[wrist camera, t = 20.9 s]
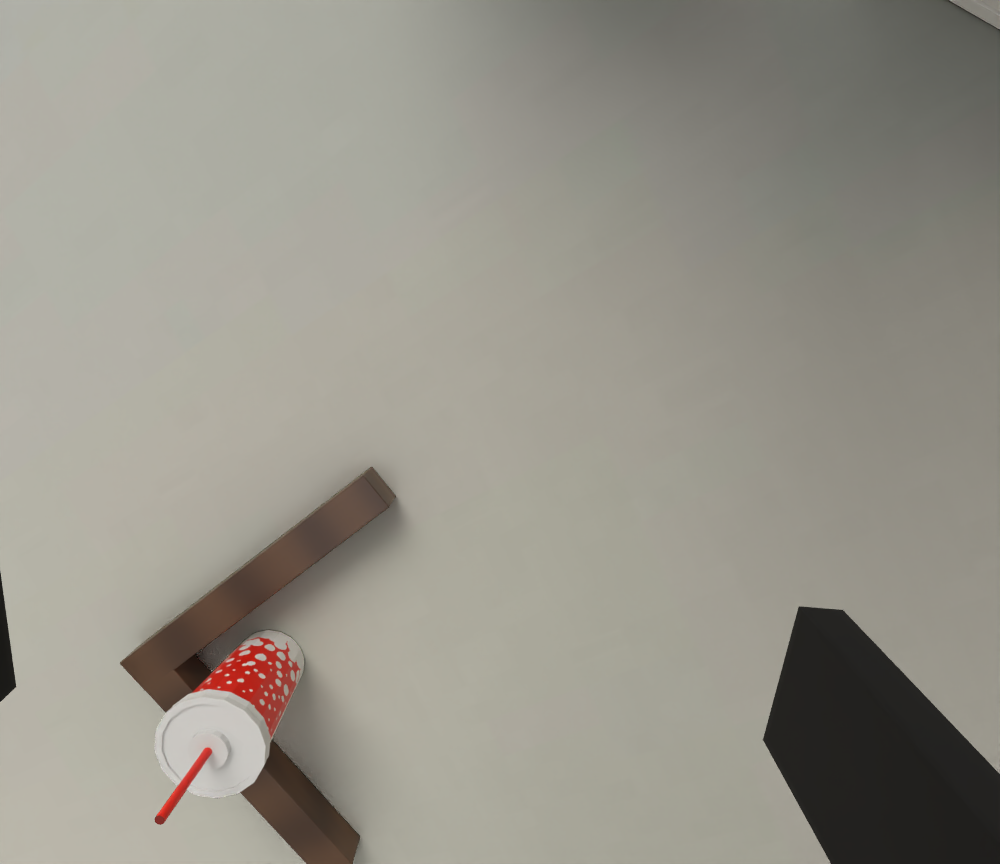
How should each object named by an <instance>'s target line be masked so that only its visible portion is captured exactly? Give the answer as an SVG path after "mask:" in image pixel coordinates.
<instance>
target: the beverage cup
mask: <svg viewBox="0 0 1000 864" xmlns="http://www.w3.org/2000/svg"><path fill="white" fill-rule="evenodd" d="M303 671H304V657H303V654H302V651H301V648H300V647H299V646H298V644H297V643H296V642H295V641H294V640H293V639H292V638H291V637H289V636H287V635H285V634H284V633H282V632H279V631H272V630H264V631H260V632H256V633H254V634H252V635H251V636H250V637H248V638H247V639H245V640H244V641H243V642H242V643H241V644H240V645H239V646H238V647H237V648H236V649H235V650H234V651H233V652H232V653H231V654H230V655H229V656H228V657H227V658H226V659H225V660H224V661H223V662H222V663H221V664H220V665H219V666H218V667H217V668H216V669H215V670H214V671H213V672H212V673H211V674H210V675H209V676H208V677H207V678H206V679H205V680H204V681H203V682H202V683H201V684H200V685H199V686H198V687H197V688H196V689H195V690H194V691H193V692H192V693H190V694H188V695H186V696H185V697H184V698H182V699H181V700H180V701H178V702H177V703H176V704H174V705H173V706H172V708H171V709H169V710H168V711H167V712H166V713H165V714H164V716H163V718H162V720H161V722H160V724H159V725H158V727H157V729H156V731H155V750H154V751H155V754H156V756H157V759H158V761H159V764H160V766H161V769H162V770H163V772H164V773H165V774H166V775H167V776H168V777H169V778H170V779H171V780H172V781H173V782H174V783H175V784H176V785H177V788H176V789H175V791H174V792H173V793H172V795H171V796H170V798H169V799H168V800H167V802H166V803H165V805H164V806H163V807H162V809H161V810H160V812H159V813H158V814H157V816H156V817H155V822H156V823H157V824H160V825H161V824H163V823H164V822H165V821H166V819H167V818H168V816H169V815H170V813H171V812H172V810H173V809H174V807H175V806H176V805H177V803H178V802H179V800H180V799H181V797H182V796H183V794H184V793H185V792H186V791H188V792H190V793H192V794H194V795H196V796H204V797H211V798H221V797H226V796H230V795H235V794H238V793H240V792H241V791H243V790H244V789H246V788H247V787H248V786H250V785H251V784H253V783H254V782H255V780H256V779H257V777H258V775H259V773H260V772H261V770H262V768H263V767H264V765H265V763H266V760H267V758H268V757H269V750H270V742H271V740H272V738H273V736H274V734H275V732H276V729H277V727H278V725H279V723H280V721H281V719H282V717H283V714H284V712H285V710H286V708H287V706H288V704H289V702H290V699H291V697H292V695H293V693H294V691H295V689H296V687H297V684H298V682H299V680H300V678H301V676H302V674H303Z"/></svg>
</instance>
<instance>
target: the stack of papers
mask: <svg viewBox="0 0 1000 864" xmlns="http://www.w3.org/2000/svg"><path fill="white" fill-rule="evenodd" d="M949 1H951V2H953V3H954V4H956V5H958V6H960V7H961V8H963V9H965V10H967V11H968V12H970V13H972V14H974V15H975V16H977V17H979V18H981V19H982V20H984V21H986V22H987V23H989V24H991V25H993V26H994V27H996V28H998V29H1000V0H949Z"/></svg>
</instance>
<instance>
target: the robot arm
mask: <svg viewBox="0 0 1000 864" xmlns="http://www.w3.org/2000/svg"><path fill="white" fill-rule="evenodd" d="M15 687H16V682H15V675H14V668H13V661H12V653H11V646H10V639H9V632H8V624H7V617H6V610H5V602H4V595H3V588H2V581H1V573H0V702H1V701H2V700H3V699H4V698H5V697H6V696H7V695H8V694H9V693H10V692H11V691H12V690H13V689H14V688H15ZM763 741H764V742H765V744H766V746H767V748H768V750H769V751H770V753H771V755H772V757H773V759H774V761H775V762H776V764H777V766H778V768H779V770H780V771H781V773H782V775H783V777H784V779H785V781H786V782H787V784H788V786H789V788H790V790H791V792H792V793H793V795H794V797H795V799H796V801H797V802H798V804H799V806H800V808H801V810H802V812H803V813H804V815H805V817H806V819H807V821H808V822H809V824H810V826H811V828H812V830H813V832H814V833H815V835H816V837H817V839H818V841H819V842H820V844H821V846H822V848H823V850H824V852H825V853H826V855H827V857H828V859H829V861H830V863H831V864H1000V774H999V773H998V772H997V771H996V770H995V769H994V768H993V767H992V766H991V765H990V763H989V762H988V761H987V760H986V759H985V758H984V757H983V756H982V755H981V754H980V753H979V752H978V751H977V750H976V749H975V748H974V747H973V746H972V745H971V744H970V743H969V741H968V740H967V739H966V738H965V737H964V736H963V735H962V734H961V733H960V732H959V731H958V730H957V729H956V728H955V727H954V726H953V725H952V724H951V723H950V722H949V721H948V720H947V718H946V717H945V716H944V715H943V714H942V713H941V712H940V711H939V710H938V709H937V708H936V707H935V706H934V705H933V704H932V703H931V702H930V701H929V700H928V699H927V698H926V697H925V695H924V694H923V693H922V692H921V691H920V690H919V689H918V688H917V687H916V686H915V685H914V684H913V683H912V682H911V681H910V680H909V679H908V678H907V677H906V676H905V675H904V673H903V672H902V671H901V670H900V669H899V668H898V667H897V666H896V665H895V664H894V663H893V662H892V661H891V660H890V659H889V658H888V657H887V656H886V655H885V654H884V653H883V652H882V650H881V649H880V648H879V647H878V646H877V645H876V644H875V643H874V642H873V641H872V640H871V639H870V638H869V637H868V636H867V635H866V634H865V633H864V632H863V631H862V630H861V629H860V627H859V626H858V625H857V624H856V623H855V622H854V621H853V620H852V619H851V618H850V617H849V616H848V615H847V614H846V613H845V612H844V611H843V610H836V609H823V608H811V607H799V608H798V611H797V615H796V619H795V623H794V626H793V630H792V634H791V638H790V641H789V645H788V649H787V652H786V656H785V660H784V664H783V667H782V671H781V675H780V679H779V682H778V686H777V690H776V693H775V697H774V701H773V705H772V708H771V712H770V716H769V720H768V723H767V727H766V731H765V734H764V738H763Z"/></svg>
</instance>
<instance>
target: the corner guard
mask: <svg viewBox="0 0 1000 864" xmlns="http://www.w3.org/2000/svg"><path fill="white" fill-rule="evenodd" d="M395 497H396V496H395V495H394V493H393V492H392V491H391V490H390V488H389V487H388V486H387V485H386V484H385V482H384V481H383V480H382V479H381V477H380V476H379V475H378V474H377V473H376V471H375V470H374V469H373V468H372V467H370V468H369V469H368V470H366V471H365V472H364V473H363V474H361V475H360V476H359V477H357V478H356V479H355V480H353V481H352V482H351V483H350V484H348V485H347V486H346V487H344V488H343V489H342V490H340V491H339V492H338V493H337V494H335V495H334V496H333V497H331V498H330V499H329V500H327V501H326V502H325V503H324V504H322V505H321V506H320V507H318V508H317V509H316V510H315V511H313V512H312V513H311V514H309V515H308V516H307V517H305V518H304V519H303V520H302V521H300V522H299V523H298V524H296V525H295V526H294V527H292V528H291V529H290V530H289V531H287V532H286V533H285V534H283V535H282V536H281V537H280V538H278V539H277V540H276V541H274V542H273V543H272V544H270V545H269V546H268V547H267V548H265V549H264V550H263V551H261V552H260V553H259V554H257V555H256V556H255V557H254V558H252V559H251V560H250V561H248V562H247V563H246V564H244V565H243V566H242V567H241V568H239V569H238V570H237V571H235V572H234V573H233V574H232V575H230V576H229V577H228V578H226V579H225V580H224V581H222V582H221V583H220V584H219V585H217V586H216V587H215V588H213V589H212V590H211V591H209V592H208V593H207V594H206V595H204V596H203V597H202V598H200V599H199V600H198V601H196V602H195V603H194V604H193V605H191V606H190V607H189V608H187V609H186V610H185V611H184V612H182V613H181V614H180V615H178V616H177V617H176V618H174V619H173V620H172V621H171V622H169V623H168V624H167V625H165V626H164V627H163V628H161V629H160V630H159V631H157V632H156V633H155V634H154V635H152V636H151V637H150V638H148V639H147V640H146V641H144V642H143V643H142V644H141V645H139V646H138V647H137V648H136V649H135V650H134V651H133V652H131V653H130V654H129V655H128V656H127V657H126V658H125V659H123V660H122V661H121V662H120V664H121V665H122V666H123V667H124V668H125V669H126V671H127V672H128V673H129V674H130V675H131V676H132V677H133V678H134V679H135V680H136V681H137V682H138V683H139V684H140V686H141V687H142V688H143V689H144V690H145V691H146V692H147V693H148V694H149V695H150V696H151V697H152V698H153V699H154V700H155V701H156V702H157V703H158V705H159V706H160V707H161V708H162V709H163V710H164V711H165V712H167V711H168V710H169V709H171V708H172V706H173V705H174V704H176V703H177V702H178V701H180V700H181V699H182V698H184V697H185V696H186V695H188V694H190V693H192V692H193V691H194V690H195V689H196V688H197V687H198V686H199V685H200V684H201V683H202V682H203V681H204V680H205V679H206V678H207V677H208V676H209V675H210V674H211V672H210V671H209V670H208V669H207V668H206V667H205V666H204V665H203V664H202V662H201V661H200V660H199V659H198V658H197V657H196V656H195V654H196V653H197V652H198V651H200V650H201V649H202V648H204V647H205V646H206V645H208V644H209V643H210V642H212V641H213V640H214V639H216V638H217V637H218V636H220V635H221V634H222V633H224V632H225V631H226V630H228V629H229V628H230V627H231V626H233V625H234V624H235V623H237V622H238V621H239V620H241V619H242V618H243V617H245V616H246V615H247V614H249V613H250V612H251V611H253V610H254V609H255V608H257V607H258V606H259V605H261V604H262V603H263V602H264V601H266V600H267V599H268V598H270V597H271V596H272V595H274V594H275V593H276V592H278V591H279V590H280V589H282V588H283V587H284V586H286V585H287V584H288V583H290V582H291V581H292V580H294V579H295V578H296V577H297V576H299V575H300V574H301V573H303V572H304V571H305V570H307V569H308V568H309V567H311V566H312V565H313V564H315V563H316V562H317V561H319V560H320V559H321V558H323V557H324V556H325V555H327V554H328V553H329V552H330V551H332V550H333V549H334V548H336V547H337V546H338V545H340V544H341V543H342V542H344V541H345V540H346V539H348V538H349V537H350V536H352V535H353V534H354V533H356V532H357V531H358V530H360V529H361V528H362V527H363V526H365V525H366V524H367V523H369V522H370V521H371V520H373V519H374V518H375V517H377V516H378V515H379V514H381V513H382V512H383V511H385V510H386V509H387V508H389V506H390V505H391V503H392V502H393V500H394V499H395ZM240 793H241V794H242V795H243V796H244V797H245V798H246V799H247V800H248V801H249V802H250V803H251V804H252V805H253V807H254V808H255V809H256V810H257V811H258V812H259V813H260V814H261V815H262V816H263V817H264V818H265V819H266V821H267V822H268V823H269V824H270V825H271V826H272V827H273V828H274V829H275V830H276V831H277V832H278V833H279V834H280V836H281V837H282V838H283V839H284V840H285V841H286V842H287V843H288V844H289V845H290V846H291V847H292V848H293V850H294V851H295V852H296V853H297V854H298V855H299V856H300V857H301V858H302V859H303V860H304V861H305V862H306V863H307V864H352V863H353V860H354V857H355V853H356V850H357V846H358V843H359V840H360V836H359V835H358V834H357V833H356V832H355V831H354V830H353V829H352V827H351V826H350V825H349V824H348V823H347V822H346V821H345V820H344V819H343V818H342V816H341V815H340V814H339V813H338V812H337V811H336V810H335V809H334V808H333V807H332V805H331V804H330V803H329V802H328V801H327V800H326V799H325V798H324V797H323V796H322V794H321V793H320V792H319V791H318V790H317V789H316V788H315V787H314V786H313V785H312V783H311V782H310V781H309V780H308V779H307V778H306V777H305V776H304V775H303V774H302V772H301V771H300V770H299V769H298V768H297V767H296V766H295V765H294V764H293V763H292V761H291V760H290V759H289V758H288V757H287V756H286V755H285V754H284V753H283V752H282V750H281V749H280V748H279V747H278V746H277V745H276V744H275V743H274V742H273V741H272V740H271V742H270V750H269V757H268V758H267V760H266V763H265V765H264V767H263V768H262V770H261V772H260V773H259V775H258V777H257V779H256V780H255V782H254V783H253V784H251V785H250V786H248V787H247V788H246V789H244V790H243V791H241V792H240Z"/></svg>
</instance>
